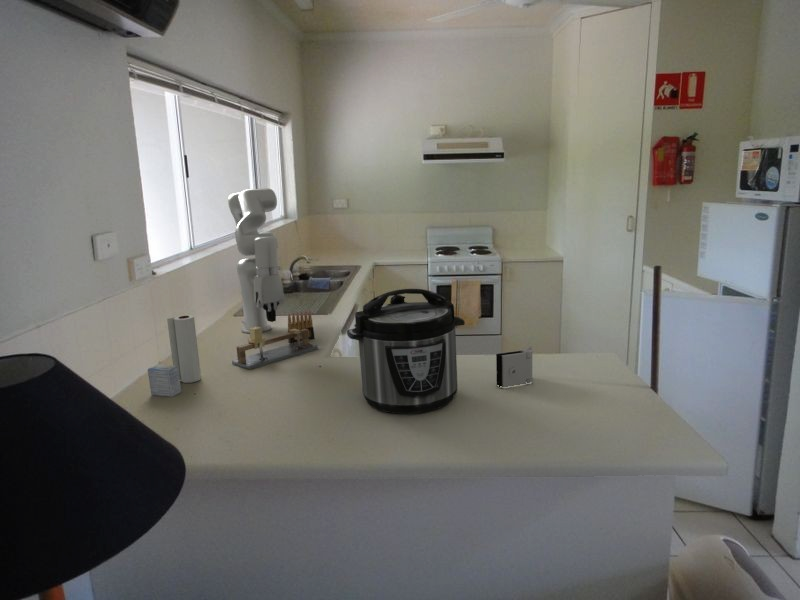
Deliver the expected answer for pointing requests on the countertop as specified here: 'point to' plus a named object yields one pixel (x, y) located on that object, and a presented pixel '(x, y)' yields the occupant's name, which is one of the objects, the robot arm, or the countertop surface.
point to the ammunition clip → (300, 325)
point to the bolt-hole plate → (275, 355)
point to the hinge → (514, 367)
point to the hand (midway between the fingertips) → (271, 320)
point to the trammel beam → (293, 333)
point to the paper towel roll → (184, 347)
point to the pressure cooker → (407, 352)
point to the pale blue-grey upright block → (164, 380)
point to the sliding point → (257, 339)
